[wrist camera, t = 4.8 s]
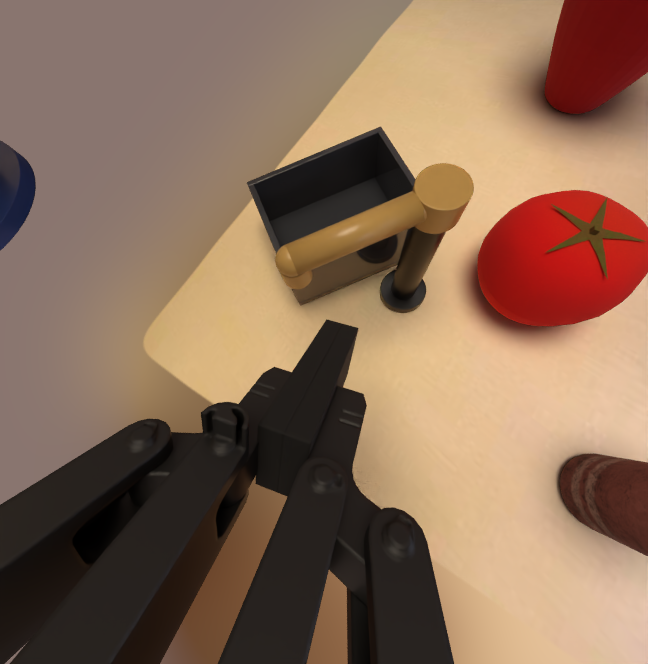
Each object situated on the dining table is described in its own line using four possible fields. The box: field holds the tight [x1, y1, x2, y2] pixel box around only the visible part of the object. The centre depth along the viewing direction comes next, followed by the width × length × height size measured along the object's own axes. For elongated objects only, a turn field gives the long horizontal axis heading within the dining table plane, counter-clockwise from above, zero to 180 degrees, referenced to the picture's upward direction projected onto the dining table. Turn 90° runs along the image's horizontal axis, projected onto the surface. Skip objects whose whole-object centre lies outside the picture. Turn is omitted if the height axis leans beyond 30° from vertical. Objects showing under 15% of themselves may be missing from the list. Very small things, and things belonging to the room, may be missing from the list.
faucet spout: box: [275, 163, 474, 289], centre depth 18 cm, size 13×3×3 cm, turn 112°
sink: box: [247, 127, 415, 305], centre depth 31 cm, size 12×15×7 cm
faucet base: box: [380, 226, 446, 313], centre depth 26 cm, size 5×5×13 cm
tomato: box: [477, 190, 648, 326], centre depth 26 cm, size 12×12×10 cm
